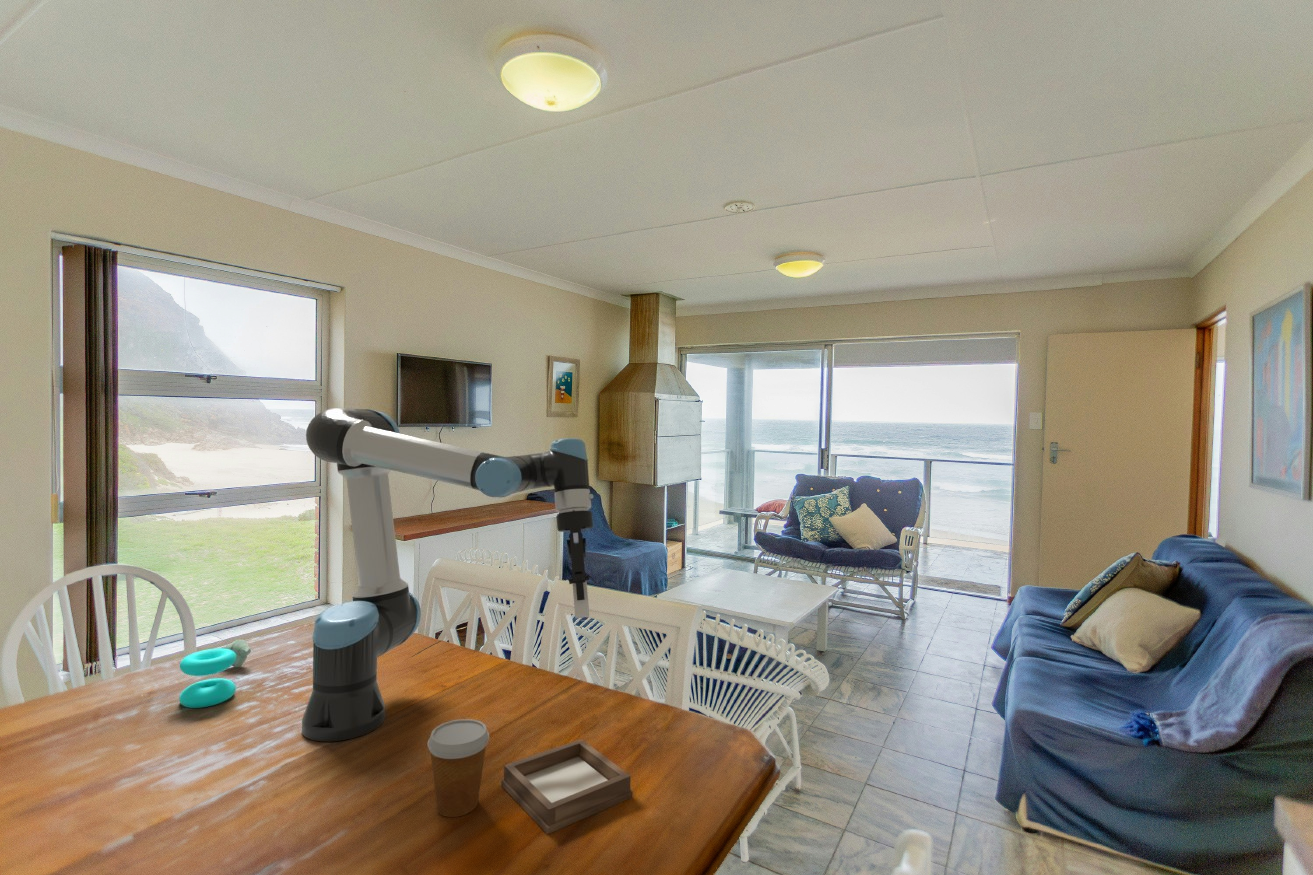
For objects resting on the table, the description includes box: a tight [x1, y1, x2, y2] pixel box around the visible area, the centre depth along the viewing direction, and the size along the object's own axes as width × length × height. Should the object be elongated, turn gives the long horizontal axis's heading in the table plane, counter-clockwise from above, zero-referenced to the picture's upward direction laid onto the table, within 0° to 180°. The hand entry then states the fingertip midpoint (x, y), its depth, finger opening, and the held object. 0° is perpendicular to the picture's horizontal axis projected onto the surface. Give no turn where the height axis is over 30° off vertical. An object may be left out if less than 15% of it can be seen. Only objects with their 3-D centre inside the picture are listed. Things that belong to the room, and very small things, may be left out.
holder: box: [500, 738, 634, 835], centre depth 105 cm, size 16×16×4 cm
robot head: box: [221, 638, 252, 669], centre depth 154 cm, size 8×4×7 cm, turn 76°
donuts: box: [178, 647, 236, 709], centre depth 136 cm, size 10×10×10 cm
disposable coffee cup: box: [426, 718, 490, 818], centre depth 100 cm, size 10×10×12 cm
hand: (582, 614), depth 127 cm, fingers open, 13 cm apart
